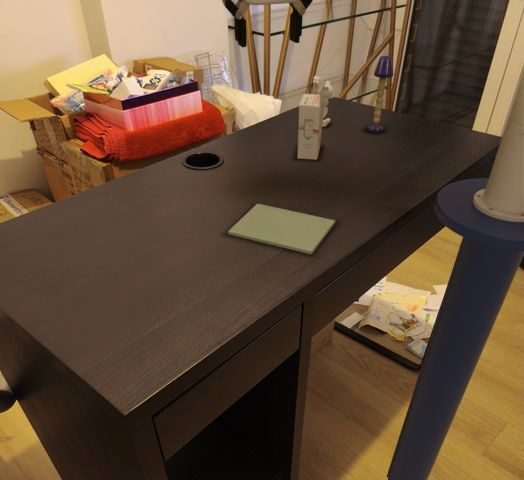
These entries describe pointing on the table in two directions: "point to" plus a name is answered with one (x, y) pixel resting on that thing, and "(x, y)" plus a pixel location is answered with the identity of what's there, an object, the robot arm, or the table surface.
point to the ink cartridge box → (310, 125)
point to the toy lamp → (380, 90)
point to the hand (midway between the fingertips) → (268, 43)
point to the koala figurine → (327, 94)
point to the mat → (283, 228)
